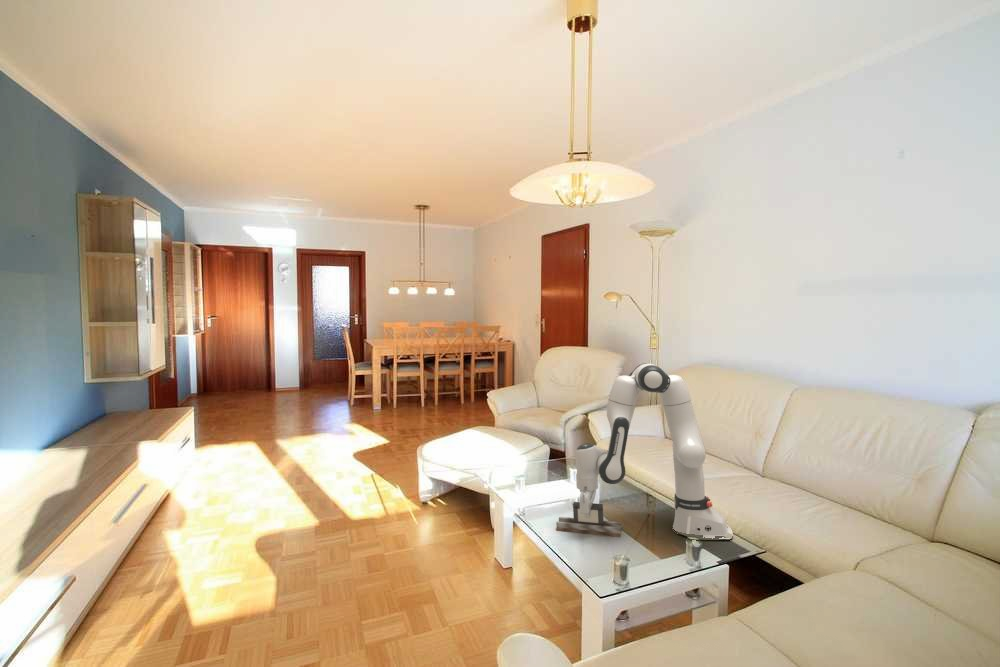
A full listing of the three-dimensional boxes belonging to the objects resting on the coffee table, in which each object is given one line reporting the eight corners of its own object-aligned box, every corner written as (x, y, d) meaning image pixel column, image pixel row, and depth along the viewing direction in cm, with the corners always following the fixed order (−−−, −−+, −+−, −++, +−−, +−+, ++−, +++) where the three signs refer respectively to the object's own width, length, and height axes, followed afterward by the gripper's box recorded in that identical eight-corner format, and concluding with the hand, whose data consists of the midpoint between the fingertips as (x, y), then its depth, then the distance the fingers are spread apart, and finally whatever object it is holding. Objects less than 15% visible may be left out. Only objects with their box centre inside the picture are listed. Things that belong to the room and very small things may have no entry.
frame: (603, 525, 200) (602, 504, 200) (603, 528, 198) (602, 506, 198) (574, 522, 204) (574, 501, 204) (573, 525, 202) (573, 503, 202)
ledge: (621, 528, 201) (621, 521, 201) (620, 537, 193) (619, 529, 193) (560, 522, 209) (559, 515, 209) (556, 530, 202) (555, 523, 202)
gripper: (591, 492, 190) (592, 527, 190) (598, 475, 209) (599, 507, 210) (575, 491, 192) (576, 525, 192) (583, 475, 211) (584, 506, 212)
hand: (588, 516), depth 201 cm, fingers open, 2 cm apart
